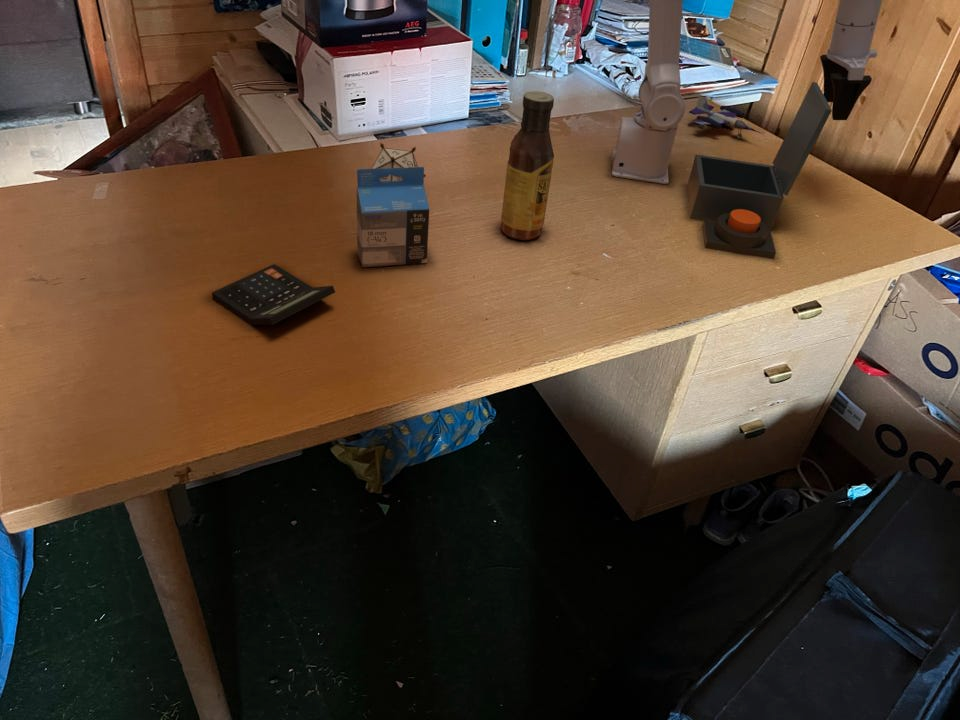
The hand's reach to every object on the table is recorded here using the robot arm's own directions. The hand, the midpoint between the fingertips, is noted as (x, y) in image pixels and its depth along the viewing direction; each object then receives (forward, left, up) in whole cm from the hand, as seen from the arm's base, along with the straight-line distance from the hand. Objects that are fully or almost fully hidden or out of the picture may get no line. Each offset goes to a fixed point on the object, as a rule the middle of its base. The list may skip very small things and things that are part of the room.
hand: (835, 110), depth 122 cm
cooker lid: (-8, -12, -1) cm, 15 cm away
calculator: (-73, -57, -14) cm, 94 cm away
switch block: (-14, -23, -14) cm, 30 cm away
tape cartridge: (-62, -43, -14) cm, 77 cm away
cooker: (-14, -12, -14) cm, 23 cm away
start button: (-14, -23, -11) cm, 29 cm away
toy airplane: (-13, +21, -14) cm, 28 cm away
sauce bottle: (-46, -30, -14) cm, 57 cm away
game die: (-66, -26, -14) cm, 72 cm away
